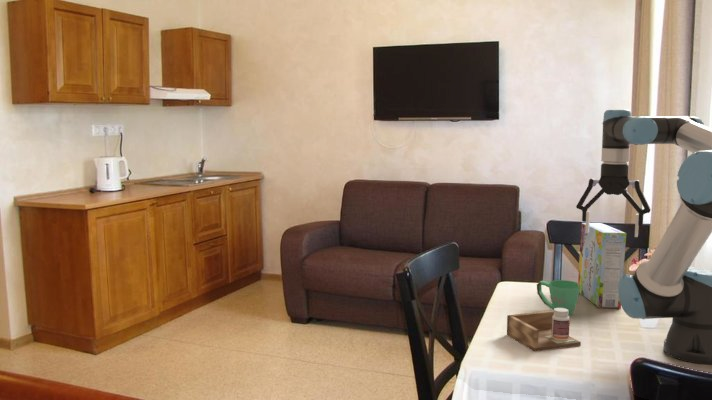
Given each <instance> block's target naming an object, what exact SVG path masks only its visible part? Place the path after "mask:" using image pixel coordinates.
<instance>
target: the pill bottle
mask: <svg viewBox="0 0 712 400" xmlns="http://www.w3.org/2000/svg"><path fill="white" fill-rule="evenodd" d="M553 311H554V315H553V316H552V333H551V337H552V338H553V339H555V340H559V341H566V340H568V339H569V336H570V321H571V320H570V316H568V314H569V310H568V309H565V308H554V310H553Z"/></svg>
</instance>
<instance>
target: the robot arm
mask: <svg viewBox="0 0 712 400" xmlns="http://www.w3.org/2000/svg"><path fill="white" fill-rule="evenodd" d="M602 120H603V121H602V123H601V124H602V143H601V156H600V157H601V160H600V161H601V162H602V163H601V164H600V177H599V179H596V178H594V177H591V178H589V180H588V184H587V188H586V189H585V191H584V192H583V194H582V196H581V197H580V199H579V200H578V202H577V204H576V206H575V207H576V209H578V210H580V211H581V212H582V213H581V215H582V216H581V220H582V223H586V229H585V233H589V224H590V223H591V222H590V221H591V219H590V217H591V210H589V209H590V208H591V206H593V204H595V202H596V201H597V200H598V199H599V198H600V197H601V196H602V195H604V194H606V195H614V196H619V195H622V196H623V197H624V198H625V199H626V200H627V201H628V202H629V203H630V205H631V206H632V208H634V210H635V211H636V212H637V213H636V214H635V225H634V238H638V236H639V227H640V226H643V225H644V215H645V214H650V212H651V210H652V209H651V207H650V205H649V204H648V201H647V199H646V196H645V195H644V193H643V191H642V188H641V183H640V180H639V179H636V180H630V179H629V171H630V170H629V167H630V166H629V165H630V164H628V163H629V161H630V148H631V147H630V146H631V144H632V145H635V146H639V145H640V146H641V145H642V146H643V145H644V146H645V145H658V144H659V145H660V144H661V145H676V146H678V147H680V148H682V149H684V150H686V151H688V152H689V153H690V152H691V154H690V155H688V156H687V157H686V158H685V159H684V161H682V163H681V165H680V166H679V168H678V169H679V170H678V171H677V177H678V179H677V180H676V188H677V192H678V194H679V198H680V199H679V200H680V201H681V204H680V205H679V207H678V209H677V211H676V213H675V214H674V216H673V218H672V220H671V221H670V223H669V225H668V227H667V229H665V232H664V233H663V235H662V237H661V239H660V241H659V243H658V244H657V246H656V248H655V249H654V251H653V253H652V254H651V257H650V258H649V259H648V260H646V261H642V262H641V263H640V264H639V265H638V266H637V268H636V269H635V271H634V273H632V274H631V273H626V274H623V276H621V278H620V280H619V284H618V293H619V299H620V303H621V308H622V310H623V312H624V313H625V314H626V316H628V317H629V318H632V319H641V320H647V319H668V318H669V319H671V318H672V321H671V325H670V327H669V329H668V331H667V335H666V337H665V338H664V340H663V351H664V352H665V353H666V354H668V355H669V356H671V357H673V358H675V359H678V360H681V361H685V362H689V363H695V364H703V365H705V364H707V365H712V270H709V269H704V268H699V267H695V266H691V265H692V264H693V262H694V261H695V259H696V258H697V256H698V254H699V253H700V251H701V250H702V248H703V246H705V244H706V242H707V240H708V239H709V237H710V236H711V234H712V128H711V127H708V126H705V123H704V121H702V119H701V118H700V117H697V116H690V115H683V116H645V115H643V116H642V115H641V116H639V115H638V116H636V115H635V116H632V111H631V110H630V109H608V110H607V109H606V110H605V111H604V112H603V119H602ZM597 184H598V185H599V187H600V188H601V189H600V190H599V191H598V192H597V193H596V195H594V196H593V197H592V198H591V199H590V200H589V201H588V202H587V203H586V205H584V203H585V201H586V199H587V198H588V196H589V195H590V193H591V191H592V190H593V188H594V187H596V186H597ZM629 186H631V187H632V188H633V189H634V190H635V192H636V194H637V196H638V199H639V200H640V203H641V205H642V206H643V207H641V206H640V205H639V204H638V202H637V201H636V200H635V199H634V197H633V196H632V195H631V194H630V192H629V191H628V190H627V188H628V187H629Z"/></svg>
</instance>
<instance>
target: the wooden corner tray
mask: <svg viewBox="0 0 712 400" xmlns="http://www.w3.org/2000/svg"><path fill="white" fill-rule="evenodd" d="M553 315H554V310H553V309H551V310H543V311H535V312H534V311H533V312H524V313H515V314H507V316H506V317H507V318H506V336H507V335H508V337H509V336H510V337H509V338H511V339H512V338H513V339H512V340H514V339H515V340H514V341H516V342H517V341H518V342H517V343H519V344H520V345H523V346H524V347H525V348H527V349H529V350H531V351H533V352H535V353H536V352H541V351H550V350H557V349H563V348H565V349H566V348H572V347H580V346H581V341H580V340H578V339H576V338H574V337H572V336H570V335H569V339H568V340H566V341H559V340H555V339H553V338H552V337H551V333H552V316H553Z"/></svg>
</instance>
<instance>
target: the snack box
mask: <svg viewBox="0 0 712 400" xmlns="http://www.w3.org/2000/svg"><path fill="white" fill-rule="evenodd" d="M580 226H581V227H580V243H579V245H580V247H579V263H578V277H577V280H578V281H577V284H578V286H579V284H580V285H581V288H580V292H579V294H580V295H582V296H583V297H584V298H586V299H587V300H589V301H590V302H591V303H592V304H594V305H595V306H596V307H598V308H606V309H607V308H609V309H621V308H622V306H621V303H620V299H619V293H618V284H619V280H620V278H621V276H623V275H624V272H625V271H624V270H625V256H626V255H625V254H626V243H627V232H624V231H622V230H620V229H617V228H614V227H612V226H610V225H607V224H606V223H605V224H604V223H602V222H590V224H589V233H585V229H586V222H581V224H580Z"/></svg>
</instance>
